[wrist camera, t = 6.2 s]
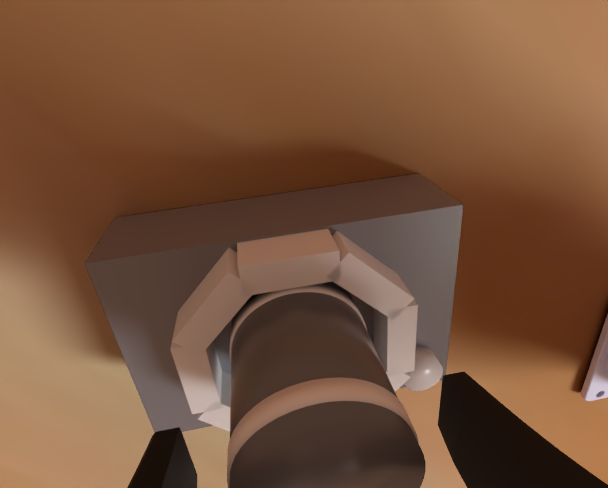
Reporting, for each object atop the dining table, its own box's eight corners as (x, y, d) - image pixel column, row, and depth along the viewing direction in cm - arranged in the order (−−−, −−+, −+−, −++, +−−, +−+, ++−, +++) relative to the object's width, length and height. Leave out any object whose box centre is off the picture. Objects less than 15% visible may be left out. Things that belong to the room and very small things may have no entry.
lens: (362, 263, 13) (445, 408, 8) (349, 363, 15) (409, 532, 10) (227, 269, 13) (220, 432, 7) (232, 373, 15) (231, 560, 9)
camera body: (419, 173, 16) (489, 223, 12) (412, 326, 20) (463, 408, 15) (115, 217, 15) (65, 291, 10) (169, 371, 19) (149, 473, 14)
